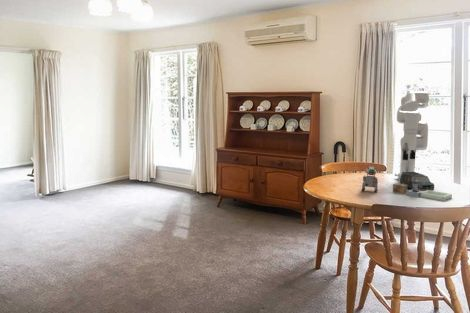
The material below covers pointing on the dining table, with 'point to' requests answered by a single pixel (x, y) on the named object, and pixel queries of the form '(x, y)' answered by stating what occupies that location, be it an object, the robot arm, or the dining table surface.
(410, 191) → the pin socket
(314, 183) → the dining table surface
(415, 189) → the stop pin
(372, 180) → the figurine
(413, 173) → the toy van
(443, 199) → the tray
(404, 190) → the chock
